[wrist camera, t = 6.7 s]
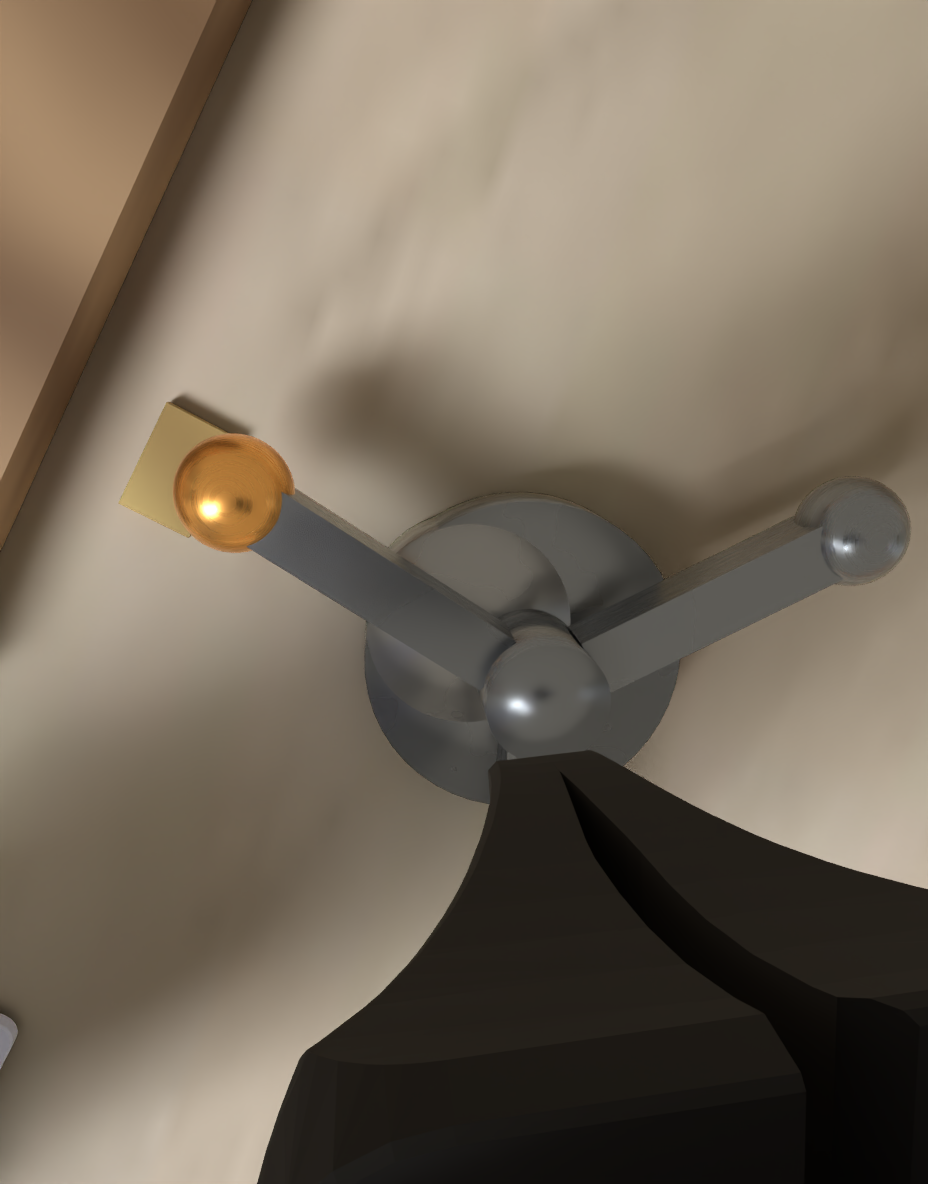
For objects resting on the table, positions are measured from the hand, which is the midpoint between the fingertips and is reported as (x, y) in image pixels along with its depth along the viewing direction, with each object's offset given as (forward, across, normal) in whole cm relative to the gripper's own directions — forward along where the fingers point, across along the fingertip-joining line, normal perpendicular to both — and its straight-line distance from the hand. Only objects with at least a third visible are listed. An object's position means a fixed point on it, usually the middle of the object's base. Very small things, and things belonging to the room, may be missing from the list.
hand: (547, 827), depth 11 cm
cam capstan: (+10, 0, 0) cm, 10 cm away
